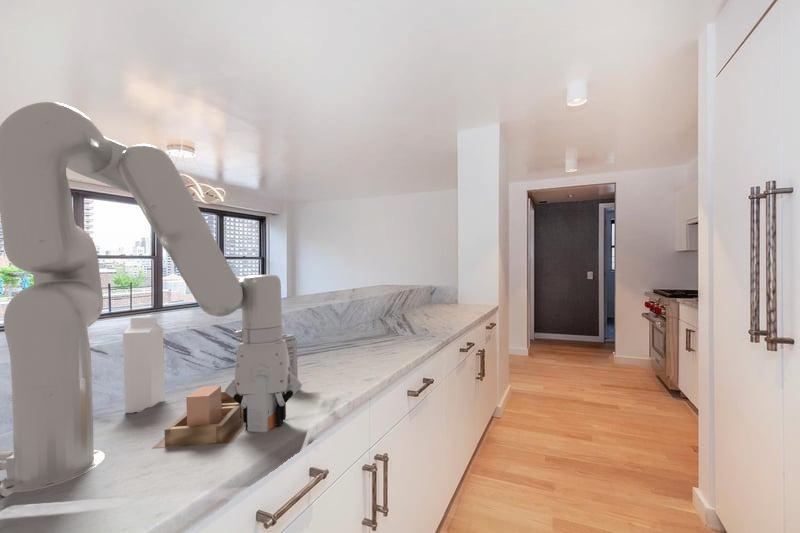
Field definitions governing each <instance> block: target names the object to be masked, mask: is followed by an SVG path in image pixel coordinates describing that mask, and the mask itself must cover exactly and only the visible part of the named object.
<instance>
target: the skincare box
mask: <svg viewBox="0 0 800 533" xmlns="http://www.w3.org/2000/svg"><path fill="white" fill-rule="evenodd" d="M255 380H257V381H256V394H253V395H247V428H246V429H247V432H253V433H254V432H255V433H267V432H269V431H270V430H272V428H274V427H275V426H277V425H276V407H277V405H278V401H277V398H276V395H275V394H268V393H267V376H256V377H255Z"/></svg>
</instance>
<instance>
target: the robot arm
mask: <svg viewBox="0 0 800 533" xmlns="http://www.w3.org/2000/svg"><path fill="white" fill-rule="evenodd" d="M67 169H68V170H70V171H72V172H74V173H77V174H79V175H80V176H84V177H86V178H89V179H92V180H94V181H96V182H100V183H102V184H105V185H107V186H110V187H113V188H115V189H119V190H121V191H123V192H127V193H129V194H131V195H132V197H133V198H134V200H135V202H136V203H137V205H138V206H139V208H140V210H141V211H142V213H143V214H144V216H145V218H146V220H147V222H148V224H149V226H150V227H151V229H152V231H153V232H154V233H155V235H156V237H157V239H158V240H159V242H160V244H161V246H162V247H163V250H165V251H166V252H167V254H168V255H169V257H170V258H171V261H172V262H173V264H174V265H175V268H176V269H177V271H178V273H179V275H180V276H181V278H182V280H183V281H184V283H185V284H186V286H187V288H188V290H189V291H190V293H191V295H192V296H193V298H194V299H195V301H196V303H197V304H198V306H199V307H200V309H201V310H202V311H203V312H204V313H206V314H208V315H210V316H212V317H225V316H229V315H232V314H234V313H235V312H236V311H237V310H240V309H241V311H242V312H241V314H242V316H241V317H242V318H241V320H242V327H241V329H240V330H236V331H235V332H234V333H235V337H236V338H241V342H240V343H238V346H237V351H236V358H235V368H234V379H232V381H231V382H230V383H229V385H228V386H227V387H226V388H225V390H224V391H225V392H226V393H227V394H228V395H230V396H231V397H233V398H234V400H235V401H236V402H238V403H239V404H240V405H241V408H243V421H244V423H246V426H245V429H247V395H253V394H256V381H257V380H255V377H256V376H267V393H268V394H275V395H276V398H277V401H278V405H277V407H276V425H275V426H277V427H281V426H282V424H283V422H284V421H285V420H286V418H287V409H286V408H287V406H286V403H287V402H288V401H289V400H290V399H291V398H292V397H293V396H294V395H295V394H296V393H297V392H298V391H299V390H301V388H302V386H303V384H302V382H301V381H300V380H299V378H298V379H297V378H296V377H295V376H294V375H293V374H292V373H291V372H290V363H289V355H288V349H287V345H286V341H285V340H282V334H283V323H282V322H283V321H282V311H283V310H282V285H281V284H282V282H281V278H280V277H279V276H278V275H276V274H251V275H246V276H236V275H235V273H234V271H233V269H232V267H231V266H230V264H229V262H228V261H227V259H226V257H225V255H224V254H223V251H222V250H221V248H220V247H219V245H218V243H217V241H216V240H215V238H214V236H213V234H212V231H211V229H210V225H209V223H208V222H207V221H206V218H205V216H204V215H203V213H202V212H201V210H200V208H199V206H198V204H197V203H196V201H195V199H194V197H193V196H192V194H191V192H190V190H189V189H188V187H187V185H186V183H185V181H184V180H183V177H182V176H181V175H180V172H179V171H178V169H177V167H176V165H175V164H174V162H173V161H172V159H171V158H170V156H169V155H168V154H167V153H166V152H165V151H164V150H162V149H161V148H159V147H157V146H155V145H151V144H146V143H140V144H134V145H131V146H129V147H128V146H127V145H124V144H122V143H119V142H117V141H115V140H112V139H110V138H108V137H106V136H104V135H103V133H102V132H101V131H100V129H99V128H98V127H97V126H96V125H95V123H94V122H93V121H92V120H91V119H90V118H89V117H88V116H87V115H86V114H84V113H83V112H81V111H80V110H78V109H76V108H74V107H72V106H69V105H67V104H64V103H61V102H60V103H59V102H54V101H42V102H41V101H40V102H35V103H31V104H28V105H26V106H23V107H21V108H19V109H18V110H15V111H14V112H13V113H11V114H10V115H9V116H8V117H7V118H6V119H5V120H3V122H2V123H1V124H0V223H1V224H0V225H1V230H2V238H3V239H2V240H3V247H4V248H3V250H4V252H5V253H4V254H5V255H6V257H7V259H8V261H9V262H10V263H11V264H12V265H13V266H14V267H16V268H17V269H20V270H21V271H23V272H26V273H31V274H32V279H33V285H30V286H28V287H26V288H23V289H22V290H20V291H19V292H18V293H16V294H15V295H14V296H13V297H12V298H11V299H10V301H9V302H8V304H7V305H6V308H5V310H4V314H3V329H4V334H5V338H6V339H5V340H6V343H7V347H8V351H9V359H10V374H11V395H12V396H11V397H12V398H11V399H12V436H13V438H12V439H13V440H12V441H13V450H11V451H1V452H0V471H3V470H5V471H6V477H5V478H4V479H3V480H2V481H1V482H0V496H2V497H4V498H7V497H9V496H10V495H12V494H13V493H17V492H18V493H22V492H31V491H35V490H41V489H44V488H49V487H52V486H53V487H54V486H56V485H60V484H62V483H66V482H67V481H71V480H73V479H75V478H77V477H80V476H82V475H84V474H86V473H88V472H90V471H91V470H93V469H95V468H96V467H98V466H99V465H100V464H101V463H102V462H103V461H104V460H105V458H106V454H105V452H103V451H102V450H98V449H95V446H94V443H95V441H94V439H95V438H94V406H93V405H94V404H93V403H94V402H93V400H94V398H93V373H92V371H93V370H92V367H93V366H92V355H91V354H92V353H91V347H90V346H91V345H90V340H89V334H88V333H89V332H88V328H89V327H91V326H92V325H94V323H96V322H97V321H98V319H99V318H100V316H101V314H102V312H103V308H104V296H103V295H104V294H103V288H102V281H101V273H100V266H99V258H98V252H97V246H96V244H95V242H94V240H93V238H92V237H91V235H90V234H89V233H88V232H87V231H86V230H85V229H83V228H82V227H80V226H78V225H77V223H76V220H75V214H74V209H73V201H72V200H73V199H72V192H71V187H70V183H69V180H68V176H67ZM289 384H291V385H292V388H291V389H290V390H288V392H287V393H286V392H285V390H286V389H287V387H288V385H289Z"/></svg>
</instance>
